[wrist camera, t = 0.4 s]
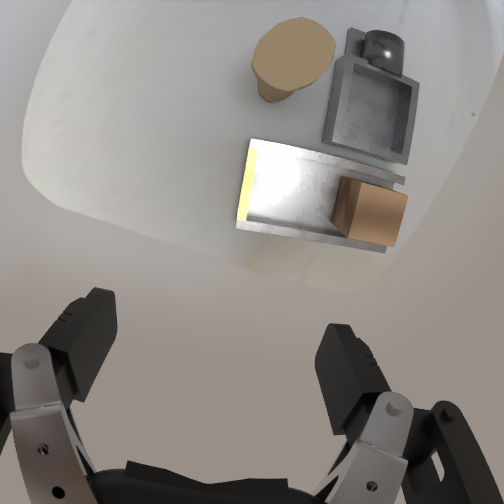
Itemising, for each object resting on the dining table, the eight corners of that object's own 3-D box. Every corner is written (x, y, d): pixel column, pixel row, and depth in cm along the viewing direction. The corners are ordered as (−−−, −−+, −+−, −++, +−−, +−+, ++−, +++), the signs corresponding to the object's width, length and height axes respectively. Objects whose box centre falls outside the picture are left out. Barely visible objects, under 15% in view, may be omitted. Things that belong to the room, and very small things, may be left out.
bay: (249, 139, 32) (251, 138, 29) (392, 173, 34) (405, 177, 31) (235, 220, 35) (235, 227, 32) (373, 244, 37) (384, 253, 34)
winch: (340, 27, 27) (355, 12, 22) (406, 54, 28) (428, 45, 23) (321, 141, 32) (336, 141, 27) (391, 162, 33) (413, 166, 28)
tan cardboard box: (342, 174, 33) (362, 181, 27) (384, 186, 33) (408, 195, 28) (331, 223, 35) (347, 239, 29) (372, 232, 35) (393, 247, 30)
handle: (305, 85, 30) (348, 48, 16) (270, 122, 31) (292, 104, 17) (274, 60, 29) (297, 7, 15) (238, 96, 30) (237, 60, 16)
